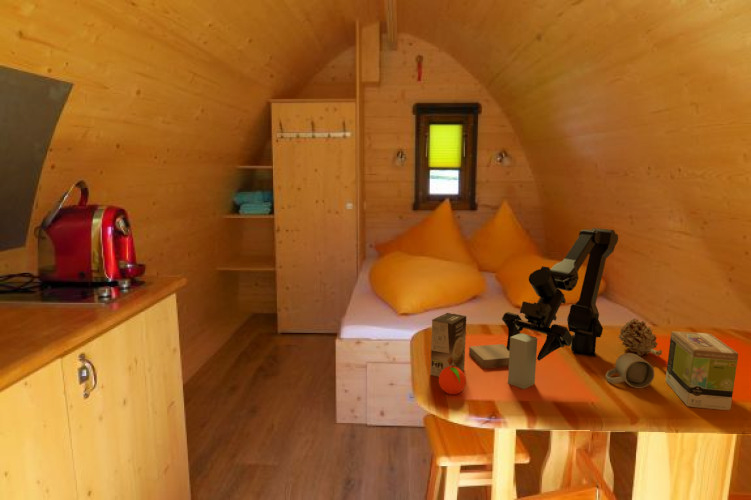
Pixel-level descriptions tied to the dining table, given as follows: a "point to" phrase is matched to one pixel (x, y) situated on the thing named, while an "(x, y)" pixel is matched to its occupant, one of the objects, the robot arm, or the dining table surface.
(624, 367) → the ceramic mug
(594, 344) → the robot arm
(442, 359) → the coffee box
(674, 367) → the tea box
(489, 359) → the walnut slab
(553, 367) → the dining table surface
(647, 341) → the pine cone
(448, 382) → the red tomato
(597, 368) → the dining table surface
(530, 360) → the wooden block
